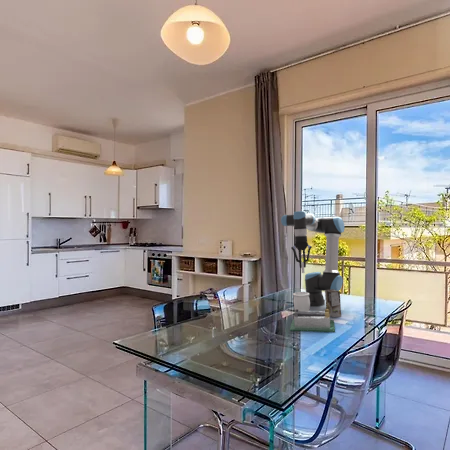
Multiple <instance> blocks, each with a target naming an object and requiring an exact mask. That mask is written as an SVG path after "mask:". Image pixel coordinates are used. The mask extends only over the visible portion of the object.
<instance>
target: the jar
mask: <svg viewBox="0 0 450 450" xmlns="http://www.w3.org/2000/svg"><path fill="white" fill-rule="evenodd" d="M292 295H293V300H292V301H293V307H294V311H295V312H296V309H298V311H310V307H311V306H310V299H309V293H308V292H306V291H297V292H296V291H295V292H293V293H292ZM295 312H294V313H295Z"/></svg>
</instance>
